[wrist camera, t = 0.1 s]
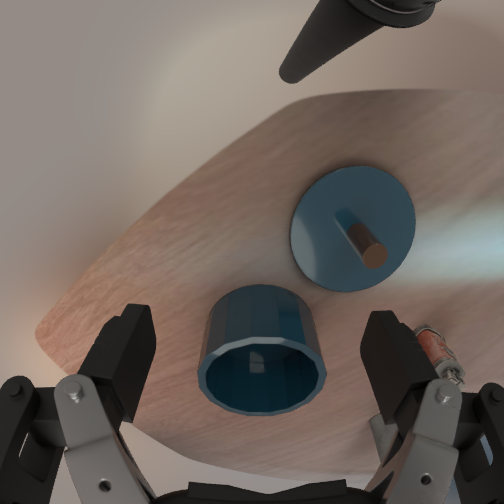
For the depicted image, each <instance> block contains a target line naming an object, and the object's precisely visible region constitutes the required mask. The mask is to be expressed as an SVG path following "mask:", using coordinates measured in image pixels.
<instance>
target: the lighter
mask: <svg viewBox="0 0 504 504" xmlns="http://www.w3.org/2000/svg"><path fill="white" fill-rule="evenodd" d="M414 334H415V335H416V337H417V339H418V340H419V343H420V344H421V345H422V347H423V351H425V352H426V354H427V356H428V358H429V359H430V361H431V363H432V365H433V366H434V368H435V370H436V372H437V374H438V375H439V377H440V379H441V378H442V379H447V380H449V381H451V382H453V383H454V384H455V385H456V386H457V387H458V388H459V389H460V391H462V390H464V389H465V388H466V385H465V383H464V382H463V380H462V379H463V377H464V376H465V371H464V369H463V367H462V366H461V365H460V363H459V362H458V361H457V358H456V357H455V355H454V353H453V352H452V351H451V350H450V349H449V348H448V347H447V344H446V342H445V340H444V338H443V337H442V335H441V334H440V333H439V332H438V331H437V330H436V329H434V328H433V327H431V326H428V325H421V326H419V327H418V328H417V329H416V330H415V331H414Z"/></svg>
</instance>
